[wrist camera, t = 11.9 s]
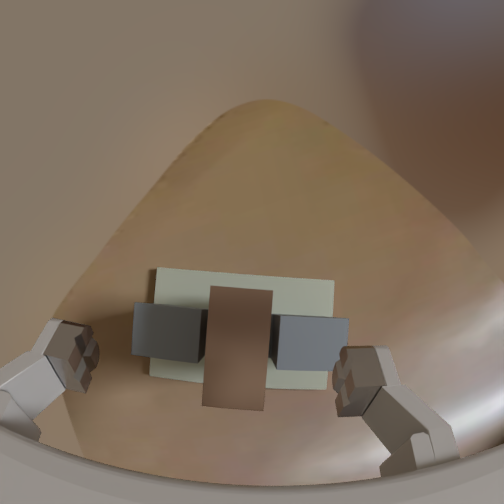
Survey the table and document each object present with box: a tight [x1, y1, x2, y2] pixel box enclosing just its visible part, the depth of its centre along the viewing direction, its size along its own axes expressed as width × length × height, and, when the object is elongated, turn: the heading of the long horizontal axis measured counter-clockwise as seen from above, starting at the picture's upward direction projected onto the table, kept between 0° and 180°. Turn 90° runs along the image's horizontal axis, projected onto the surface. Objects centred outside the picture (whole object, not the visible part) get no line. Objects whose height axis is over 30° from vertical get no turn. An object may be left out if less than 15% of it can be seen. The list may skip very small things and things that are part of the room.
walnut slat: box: [202, 285, 273, 411], centre depth 20 cm, size 6×3×10 cm, turn 176°
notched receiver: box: [131, 267, 349, 389], centre depth 24 cm, size 10×16×9 cm, turn 86°
